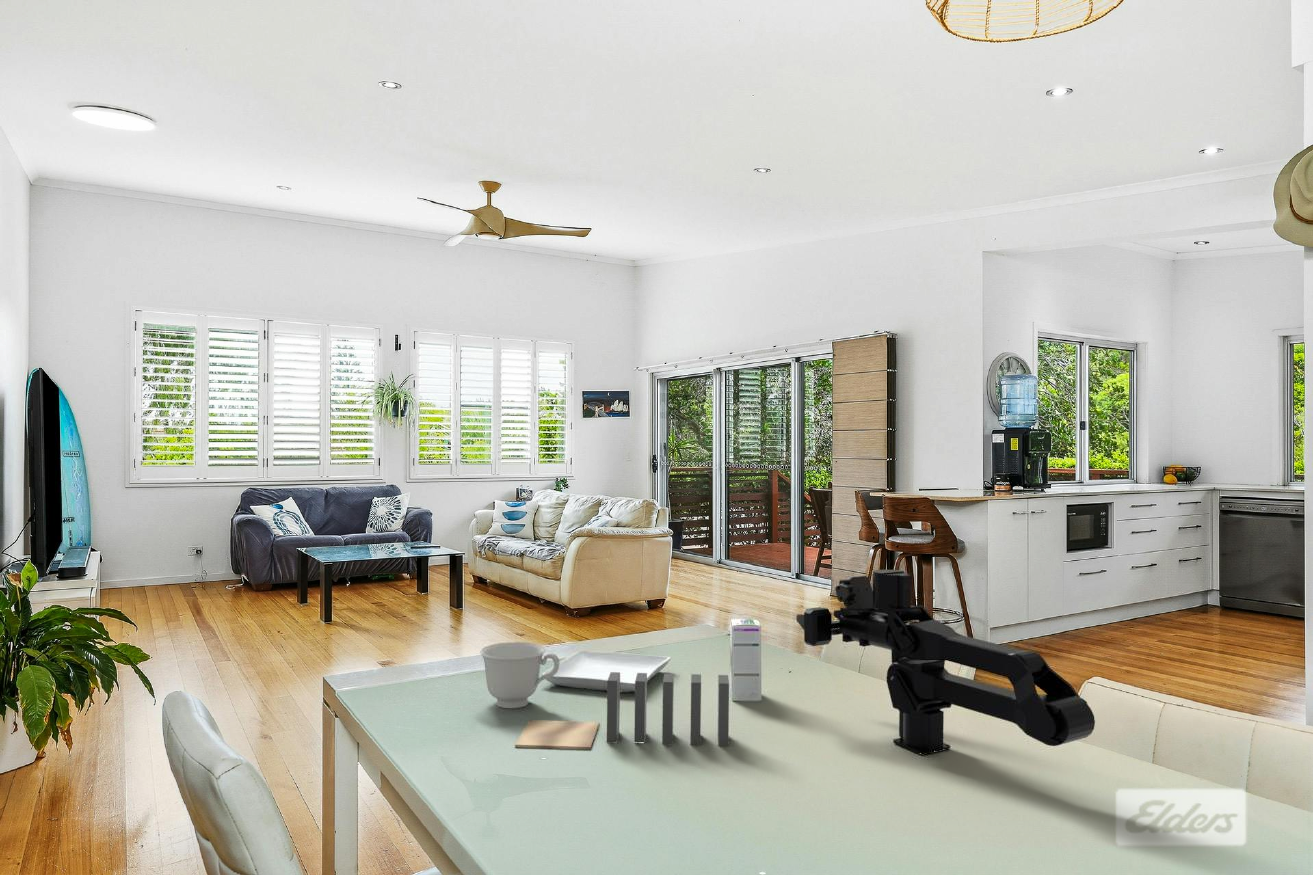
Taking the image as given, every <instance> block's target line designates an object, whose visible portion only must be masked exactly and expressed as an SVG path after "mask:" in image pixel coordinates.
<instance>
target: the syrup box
mask: <svg viewBox="0 0 1313 875" xmlns="http://www.w3.org/2000/svg"><path fill="white" fill-rule="evenodd" d="M729 625H730V630H729V632H730V633H729V638H730V639H729V644H730V645H729V649H730V650H729V651H730V654H729V655H730V656H729V657H730V660H729V661H730V662H729V664H730V665H729V666H730V668H729V673H730V674H729V676H730V677H729V678H730V679H729V694H730V697H731V700H732V701H733V702H734V701H735V702H762V675H763V674H762V671H763V670H762V626H761V623H760V621H759V619H755V618H734V619H730V623H729Z"/></svg>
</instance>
